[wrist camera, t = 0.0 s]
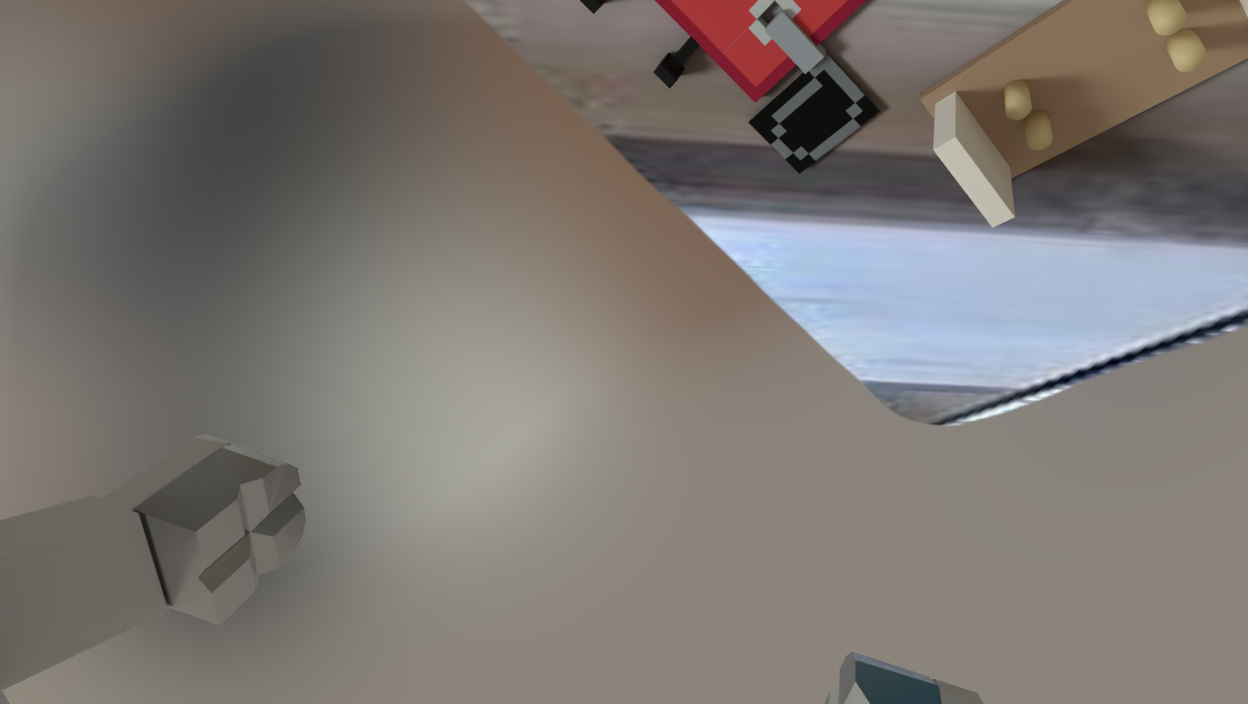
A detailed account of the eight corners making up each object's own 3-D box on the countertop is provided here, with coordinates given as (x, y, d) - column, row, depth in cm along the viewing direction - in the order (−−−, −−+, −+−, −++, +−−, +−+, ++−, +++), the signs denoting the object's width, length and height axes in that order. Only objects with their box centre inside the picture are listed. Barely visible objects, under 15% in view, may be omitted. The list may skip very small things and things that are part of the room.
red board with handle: (785, 180, 62) (932, 65, 52) (780, 196, 60) (932, 81, 50) (530, -73, 54) (643, -270, 44) (515, -63, 52) (629, -266, 42)
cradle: (1243, -117, 39) (1286, -77, 34) (1306, 19, 42) (1354, 74, 37) (920, 93, 53) (916, 145, 48) (987, 184, 56) (990, 241, 51)
